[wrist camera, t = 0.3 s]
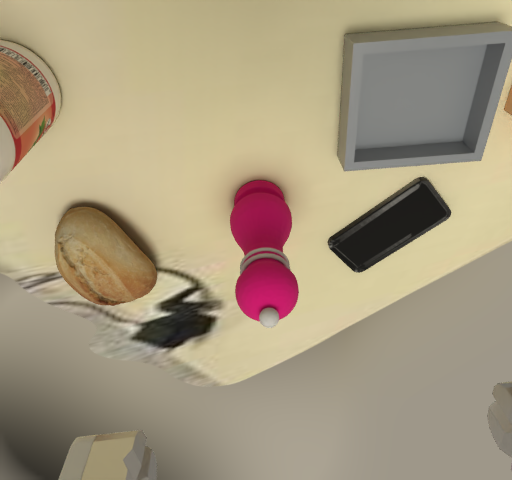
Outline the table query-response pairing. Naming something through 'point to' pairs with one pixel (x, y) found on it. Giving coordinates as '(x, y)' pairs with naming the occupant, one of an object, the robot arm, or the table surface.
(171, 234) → the table surface
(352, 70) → the tray
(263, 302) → the pepper mill
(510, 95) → the ring
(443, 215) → the phone
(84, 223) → the bread roll
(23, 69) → the fruit juice
